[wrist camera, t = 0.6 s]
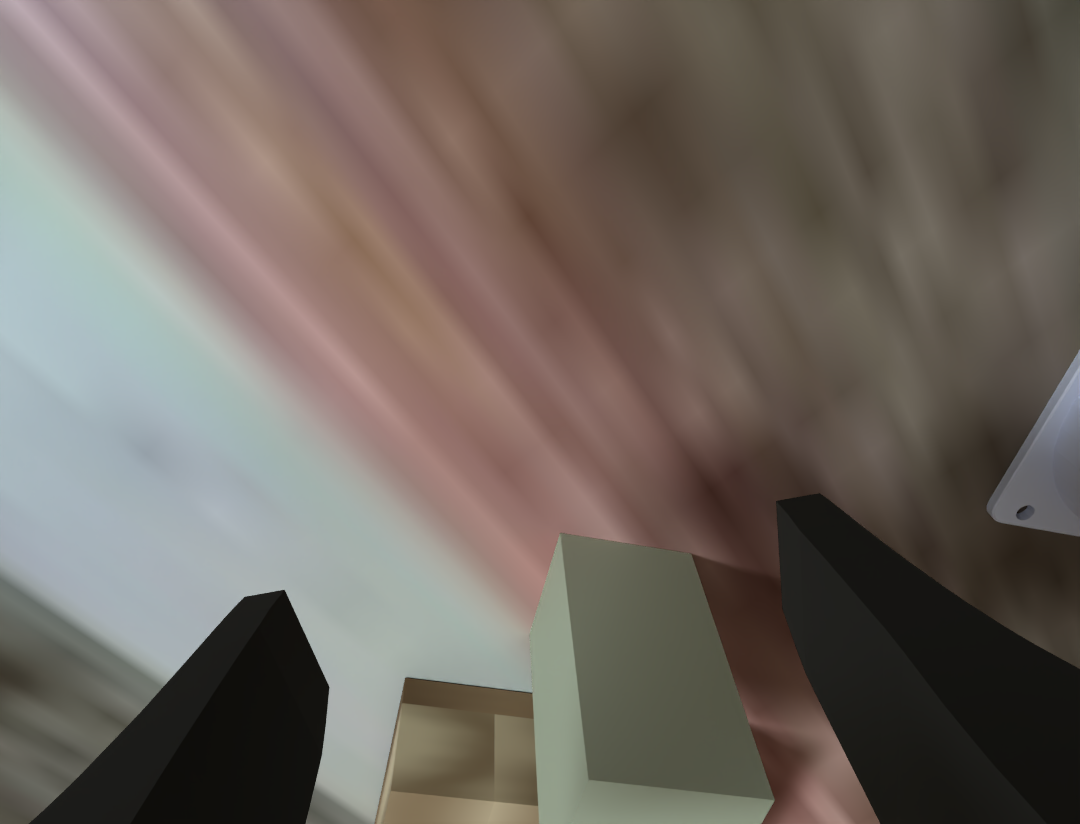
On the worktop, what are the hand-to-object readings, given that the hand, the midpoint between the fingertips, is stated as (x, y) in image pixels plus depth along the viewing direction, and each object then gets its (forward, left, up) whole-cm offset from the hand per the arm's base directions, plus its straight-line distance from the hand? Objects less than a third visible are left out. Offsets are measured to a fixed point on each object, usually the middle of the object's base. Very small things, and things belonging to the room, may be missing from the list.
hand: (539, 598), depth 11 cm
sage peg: (-4, +8, -9) cm, 13 cm away
